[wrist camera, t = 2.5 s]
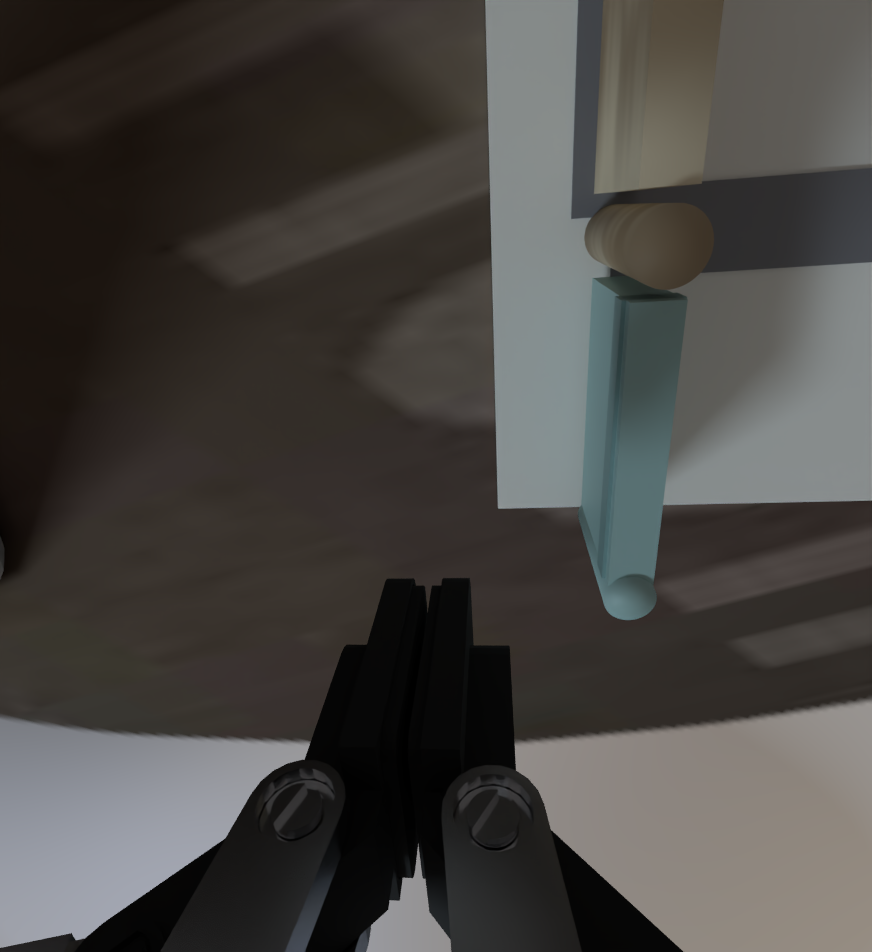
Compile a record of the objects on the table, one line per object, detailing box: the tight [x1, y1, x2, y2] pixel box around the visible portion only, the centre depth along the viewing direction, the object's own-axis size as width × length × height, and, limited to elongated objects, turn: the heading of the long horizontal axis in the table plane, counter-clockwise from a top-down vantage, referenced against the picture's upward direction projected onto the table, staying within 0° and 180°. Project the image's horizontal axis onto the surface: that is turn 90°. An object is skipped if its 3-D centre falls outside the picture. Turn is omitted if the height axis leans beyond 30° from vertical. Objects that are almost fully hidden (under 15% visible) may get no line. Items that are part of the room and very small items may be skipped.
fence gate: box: [578, 276, 688, 620], centre depth 16 cm, size 9×1×5 cm, turn 5°
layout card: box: [485, 0, 872, 509], centre depth 16 cm, size 17×15×1 cm
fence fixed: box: [584, 0, 724, 290], centre depth 12 cm, size 9×2×6 cm, turn 5°
